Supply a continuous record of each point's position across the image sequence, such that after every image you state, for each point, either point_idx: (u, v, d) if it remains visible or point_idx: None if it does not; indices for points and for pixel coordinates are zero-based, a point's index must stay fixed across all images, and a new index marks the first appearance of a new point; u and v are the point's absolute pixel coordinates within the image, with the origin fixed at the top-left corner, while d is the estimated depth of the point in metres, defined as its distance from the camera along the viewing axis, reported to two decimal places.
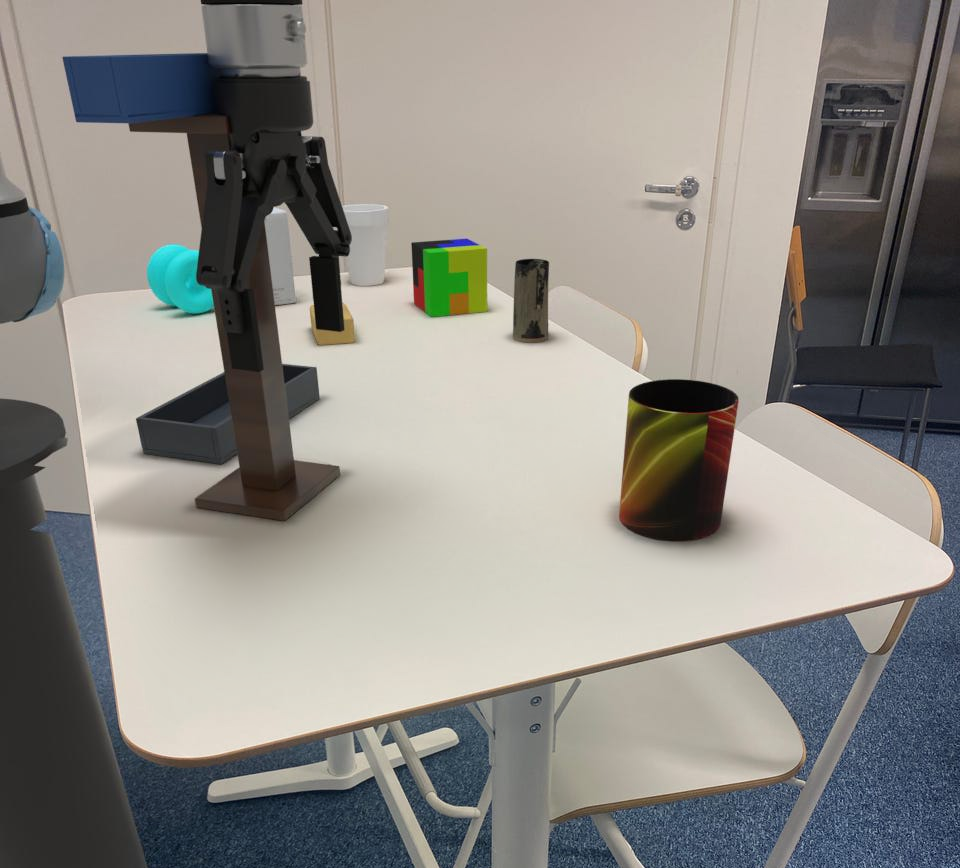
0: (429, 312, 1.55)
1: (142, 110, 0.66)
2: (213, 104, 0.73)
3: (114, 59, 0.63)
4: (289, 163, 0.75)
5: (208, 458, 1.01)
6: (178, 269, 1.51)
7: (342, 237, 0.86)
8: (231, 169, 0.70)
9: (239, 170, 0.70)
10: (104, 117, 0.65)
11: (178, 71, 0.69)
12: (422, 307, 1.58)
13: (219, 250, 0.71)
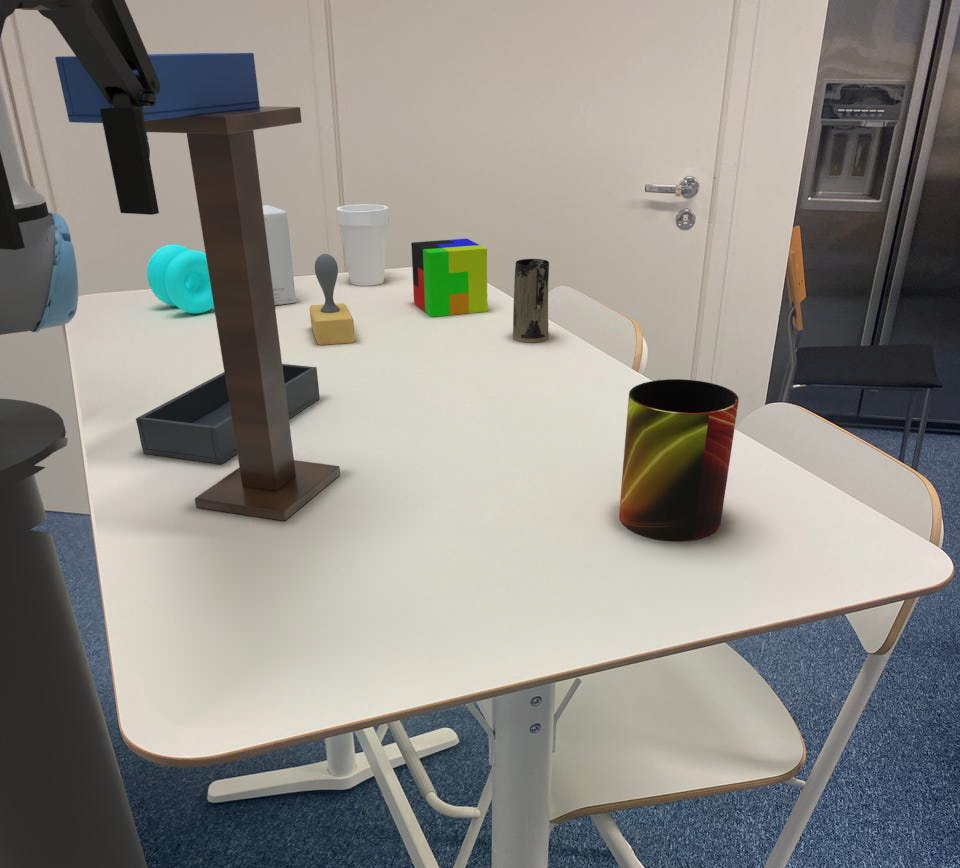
0: (429, 312, 1.55)
1: None
2: (209, 104, 0.73)
3: None
4: None
5: (208, 458, 1.01)
6: (178, 269, 1.51)
7: (145, 82, 0.63)
8: None
9: None
10: (96, 117, 0.65)
11: (173, 71, 0.69)
12: (422, 307, 1.58)
13: None
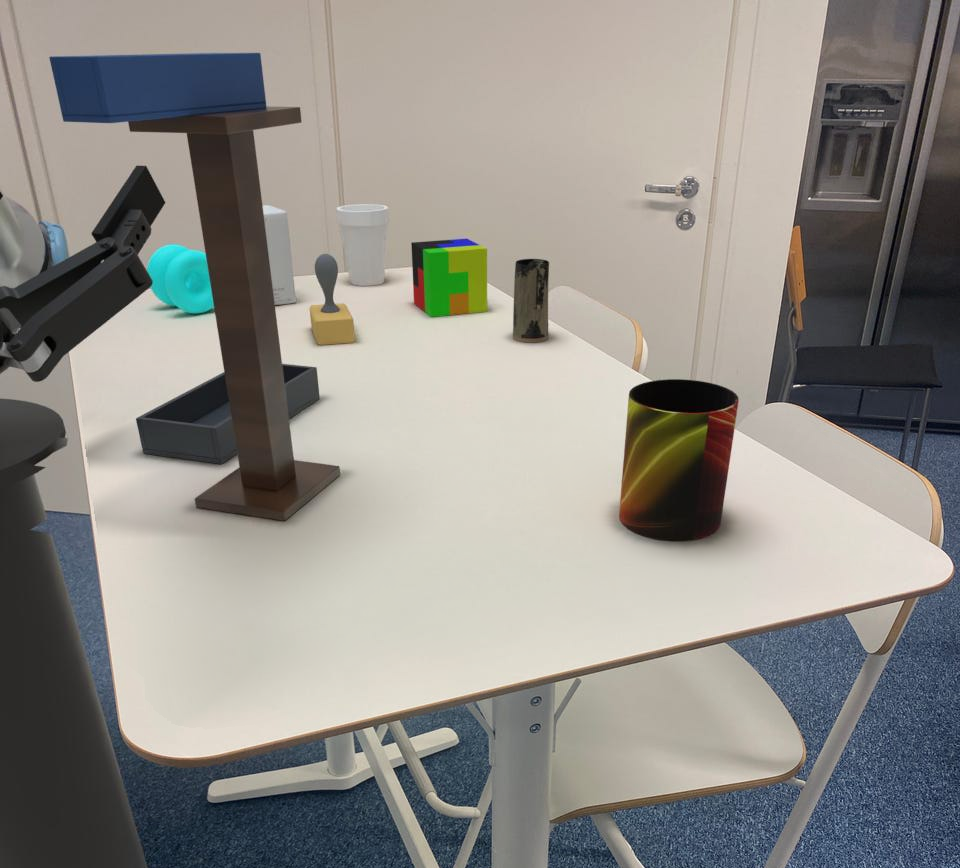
0: (429, 312, 1.55)
1: (125, 110, 0.66)
2: (210, 104, 0.73)
3: (95, 59, 0.63)
4: None
5: (208, 458, 1.01)
6: (178, 269, 1.51)
7: None
8: None
9: None
10: (88, 117, 0.66)
11: (169, 71, 0.69)
12: (422, 307, 1.58)
13: None
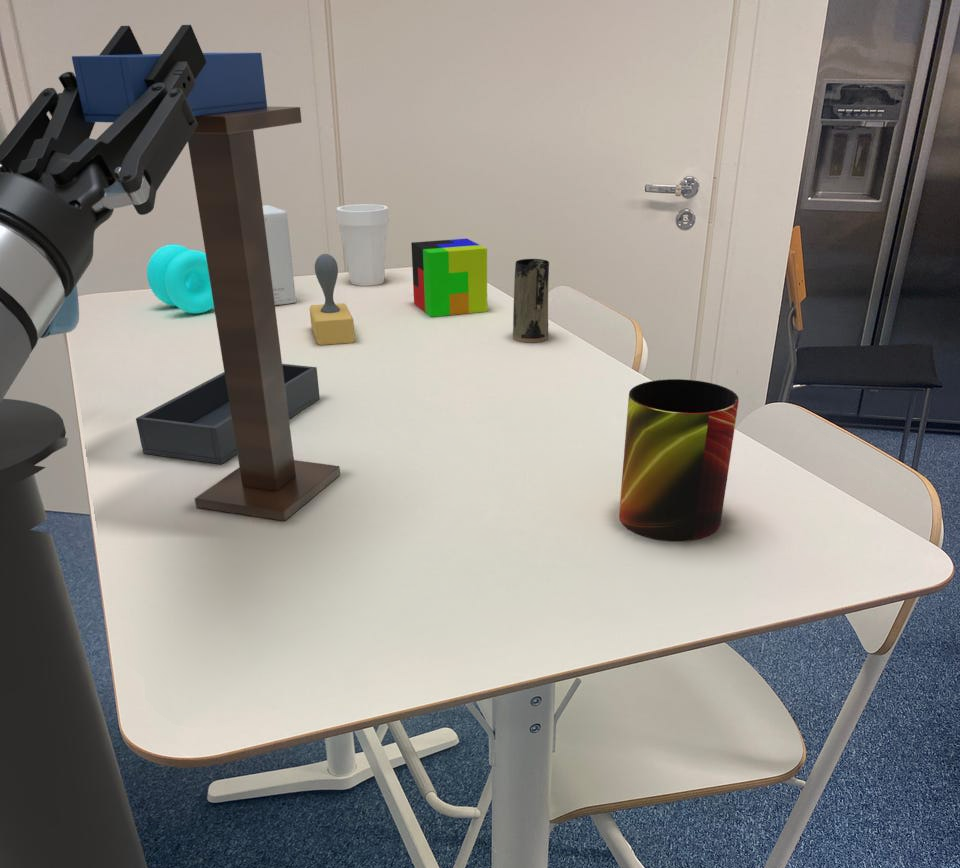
0: (429, 312, 1.55)
1: None
2: (221, 104, 0.73)
3: (124, 59, 0.63)
4: None
5: (208, 458, 1.01)
6: (178, 269, 1.51)
7: None
8: None
9: None
10: (113, 117, 0.66)
11: None
12: (422, 307, 1.58)
13: None
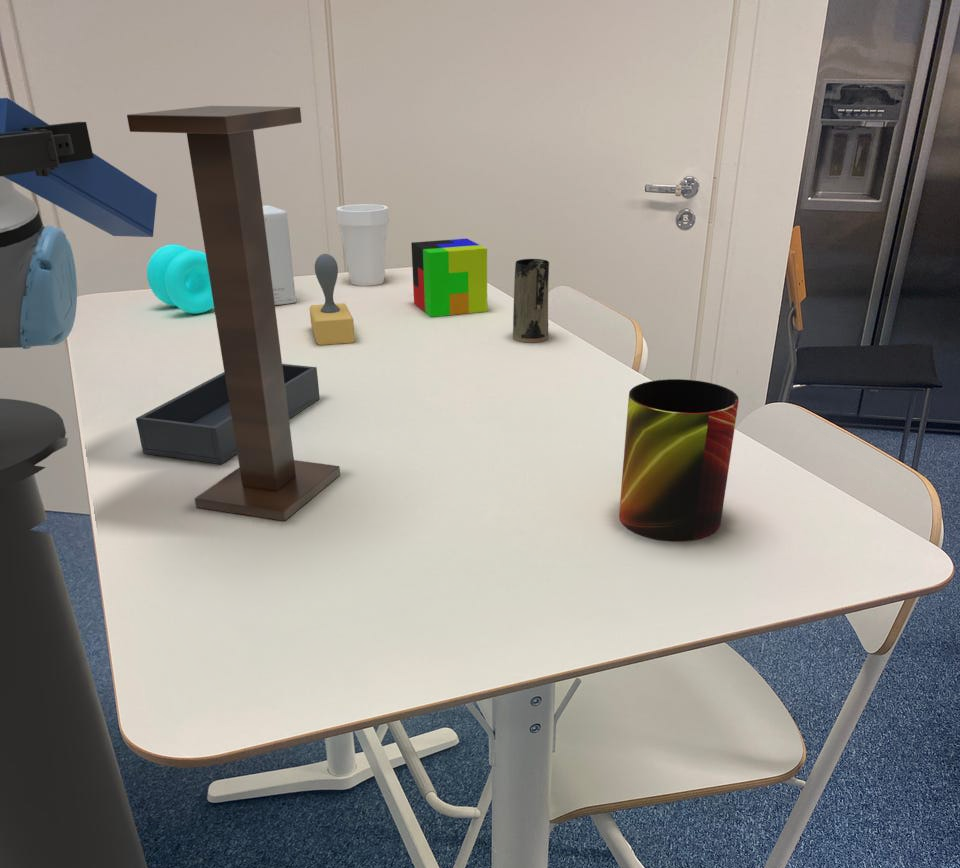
0: (429, 312, 1.55)
1: None
2: (101, 200, 0.81)
3: (4, 100, 0.71)
4: None
5: (208, 458, 1.01)
6: (178, 269, 1.51)
7: None
8: None
9: None
10: None
11: None
12: (422, 307, 1.58)
13: None
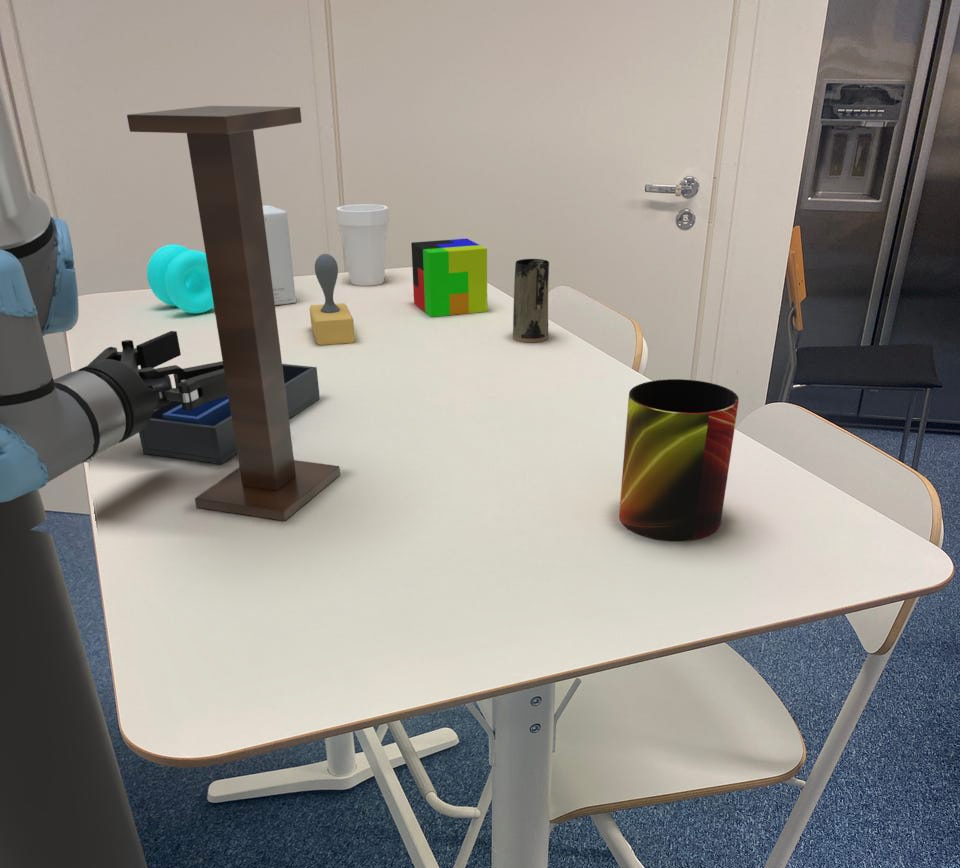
0: (429, 312, 1.55)
1: None
2: None
3: (196, 420, 1.00)
4: None
5: (208, 458, 1.01)
6: (178, 269, 1.51)
7: None
8: None
9: None
10: None
11: None
12: (422, 307, 1.58)
13: None
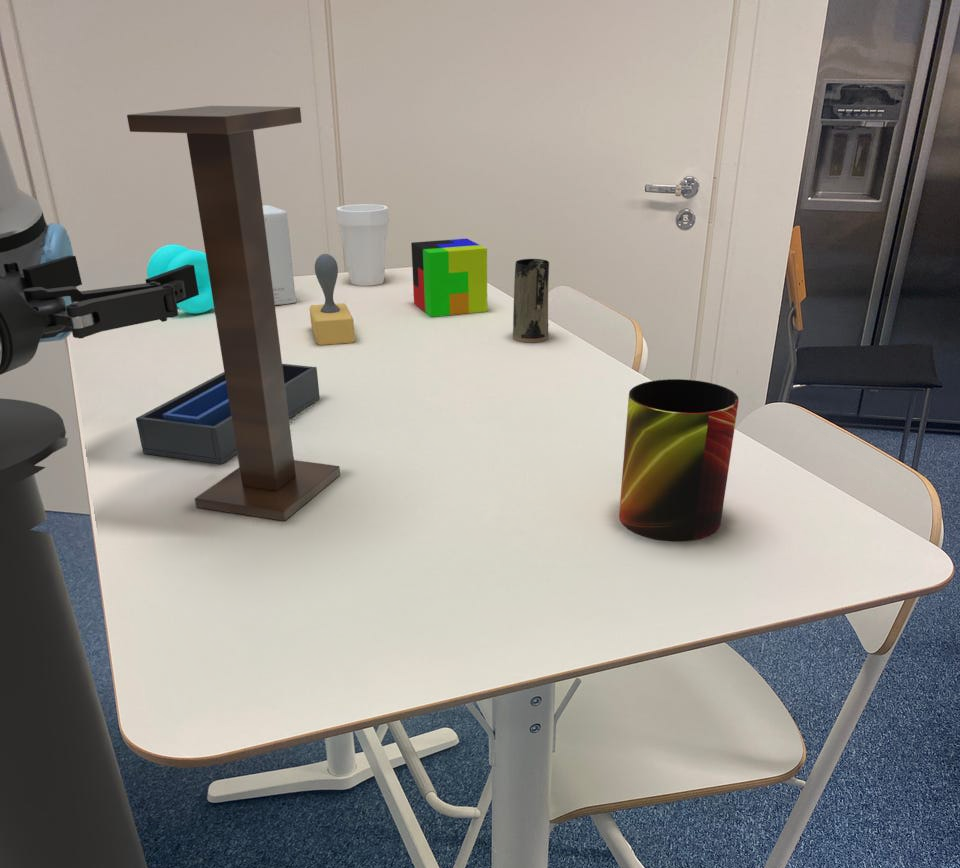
0: (429, 312, 1.55)
1: None
2: None
3: (196, 420, 1.00)
4: None
5: (208, 458, 1.01)
6: None
7: None
8: None
9: None
10: None
11: None
12: (422, 307, 1.58)
13: None
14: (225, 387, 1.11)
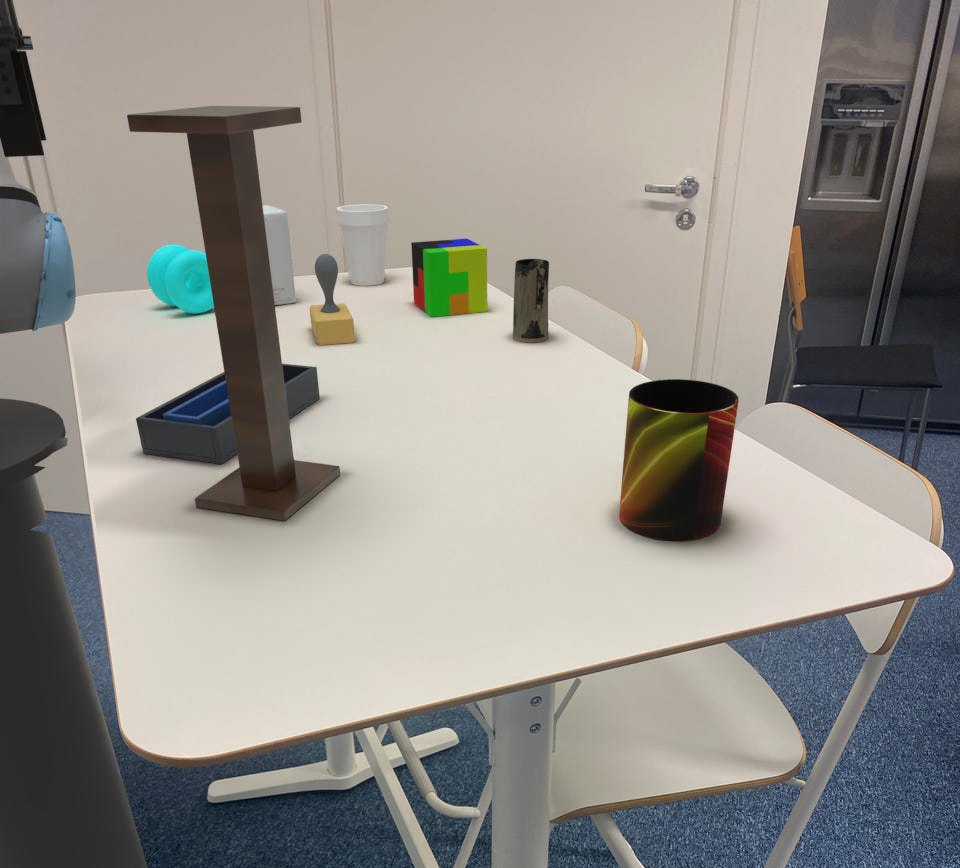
0: (429, 312, 1.55)
1: None
2: None
3: (196, 420, 1.00)
4: None
5: (208, 458, 1.01)
6: (178, 269, 1.51)
7: None
8: None
9: None
10: None
11: None
12: (422, 307, 1.58)
13: None
14: (225, 387, 1.11)
